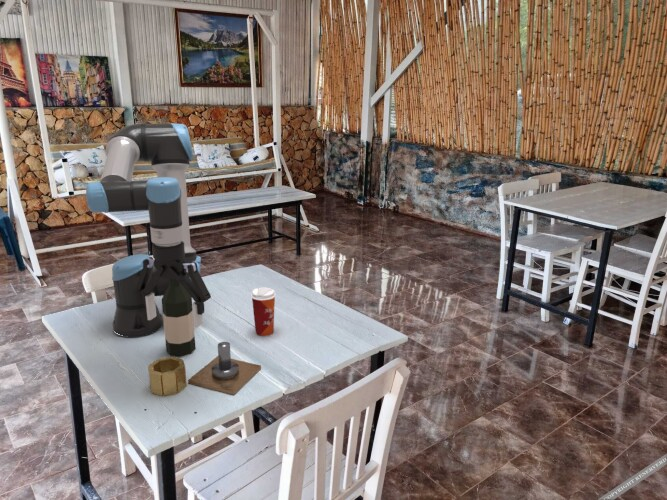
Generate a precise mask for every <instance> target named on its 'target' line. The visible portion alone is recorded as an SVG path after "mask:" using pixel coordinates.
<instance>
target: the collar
mask: <svg viewBox="0 0 667 500" xmlns="http://www.w3.org/2000/svg"><path fill="white" fill-rule="evenodd" d="M147 368H148V377H149V385H150V386H149V387H150V392H152V394H154V395H157V396H161V397H163V396H164V397H167V396H172V395H177V394H179V393H180V392H181V391H183V390H184V389H186V387H187V375H186V365H185V361H184V359H183V358H181V357H176V356H167V357H161V358H158V359H156V360H154V361H153V362H151V363H149V365H148V366H147Z"/></svg>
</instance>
